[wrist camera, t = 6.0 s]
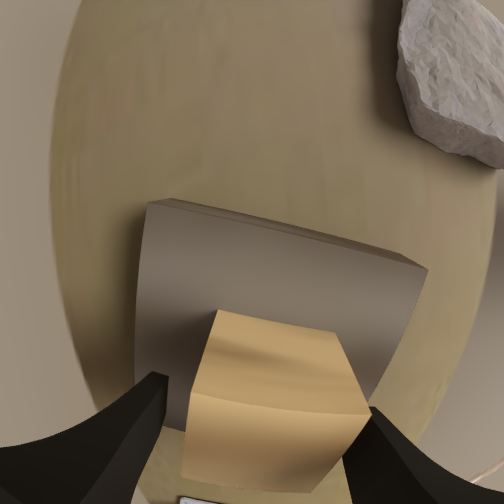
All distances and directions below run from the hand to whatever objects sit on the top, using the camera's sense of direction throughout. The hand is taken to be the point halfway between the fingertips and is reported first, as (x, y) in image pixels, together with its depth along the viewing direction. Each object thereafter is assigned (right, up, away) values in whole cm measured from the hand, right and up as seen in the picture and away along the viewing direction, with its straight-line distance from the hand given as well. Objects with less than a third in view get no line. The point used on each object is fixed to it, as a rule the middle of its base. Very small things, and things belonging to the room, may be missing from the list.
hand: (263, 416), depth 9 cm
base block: (0, +1, +6) cm, 6 cm away
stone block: (+12, +17, +2) cm, 21 cm away
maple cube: (0, +1, +3) cm, 3 cm away
